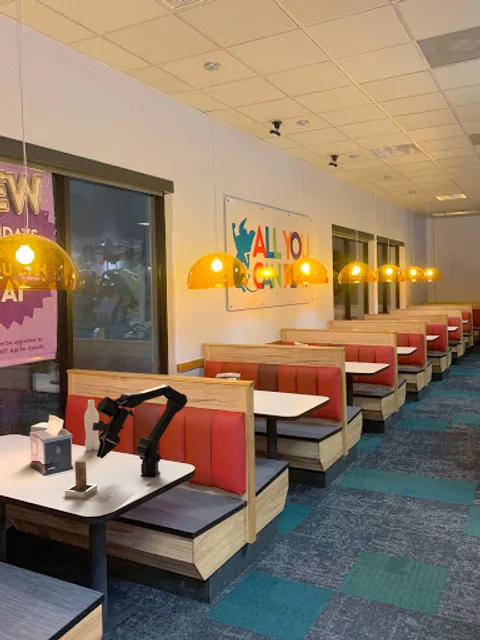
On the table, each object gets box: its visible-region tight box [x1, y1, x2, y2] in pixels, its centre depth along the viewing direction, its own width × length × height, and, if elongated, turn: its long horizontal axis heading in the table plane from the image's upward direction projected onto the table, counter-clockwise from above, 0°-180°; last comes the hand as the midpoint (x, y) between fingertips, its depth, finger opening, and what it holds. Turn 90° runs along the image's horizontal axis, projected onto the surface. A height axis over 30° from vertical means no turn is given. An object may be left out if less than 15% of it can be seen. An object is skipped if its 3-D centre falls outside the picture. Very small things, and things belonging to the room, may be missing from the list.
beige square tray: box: [64, 483, 98, 499], centre depth 216 cm, size 9×9×2 cm
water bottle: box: [83, 399, 100, 452], centre depth 282 cm, size 7×7×25 cm
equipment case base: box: [61, 490, 118, 503], centre depth 215 cm, size 18×10×2 cm, turn 74°
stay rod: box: [74, 459, 88, 492], centre depth 216 cm, size 4×4×12 cm
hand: (99, 457), depth 226 cm, fingers open, 9 cm apart
